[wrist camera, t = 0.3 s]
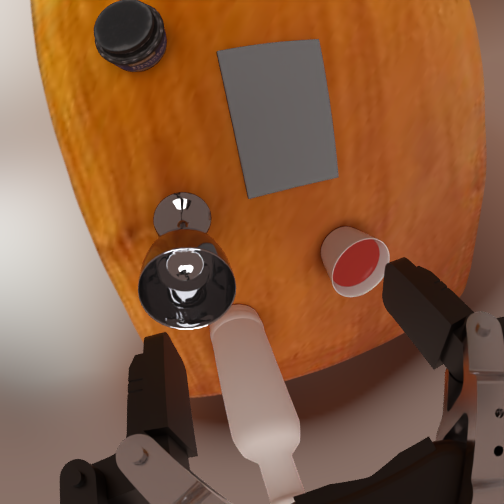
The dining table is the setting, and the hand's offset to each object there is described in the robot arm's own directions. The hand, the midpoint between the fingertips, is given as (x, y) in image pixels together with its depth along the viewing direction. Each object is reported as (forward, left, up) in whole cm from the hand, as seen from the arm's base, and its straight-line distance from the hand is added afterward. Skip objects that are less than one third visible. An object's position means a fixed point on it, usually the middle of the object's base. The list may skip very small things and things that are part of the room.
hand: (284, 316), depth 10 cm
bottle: (+25, -3, -28) cm, 38 cm away
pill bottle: (-15, -5, -28) cm, 32 cm away
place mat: (-3, +9, -28) cm, 29 cm away
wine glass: (+7, -5, -28) cm, 29 cm away
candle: (+17, +15, -28) cm, 36 cm away
